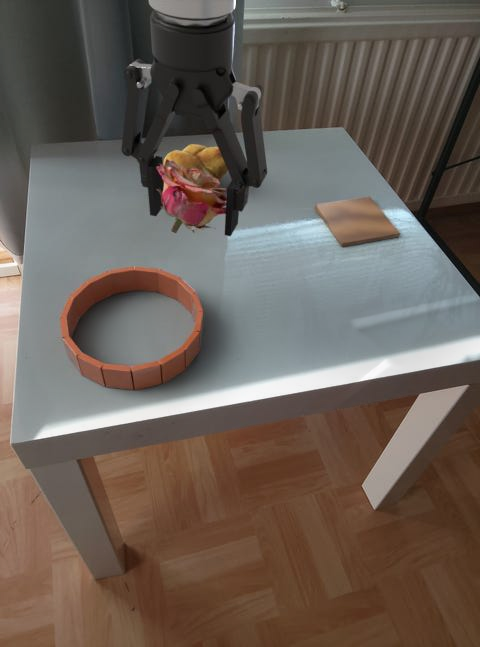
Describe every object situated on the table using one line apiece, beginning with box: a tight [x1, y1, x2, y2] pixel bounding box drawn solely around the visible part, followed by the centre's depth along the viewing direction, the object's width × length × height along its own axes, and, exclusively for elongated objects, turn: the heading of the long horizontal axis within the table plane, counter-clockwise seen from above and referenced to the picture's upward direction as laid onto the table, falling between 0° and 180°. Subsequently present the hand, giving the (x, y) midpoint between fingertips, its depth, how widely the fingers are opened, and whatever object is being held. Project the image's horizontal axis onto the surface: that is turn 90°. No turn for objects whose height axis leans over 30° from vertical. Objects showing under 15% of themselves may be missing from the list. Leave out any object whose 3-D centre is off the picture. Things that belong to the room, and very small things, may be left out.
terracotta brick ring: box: [59, 265, 204, 391], centre depth 67 cm, size 18×18×4 cm
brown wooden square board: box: [314, 196, 401, 248], centre depth 88 cm, size 11×11×1 cm
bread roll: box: [163, 143, 229, 183], centre depth 89 cm, size 13×10×8 cm
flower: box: [156, 159, 227, 234], centre depth 59 cm, size 10×9×8 cm
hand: (194, 219), depth 61 cm, fingers closed on flower, 9 cm apart
